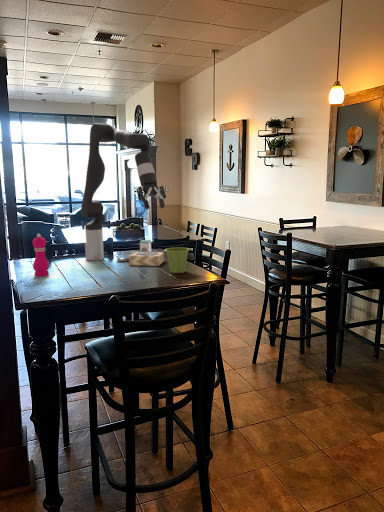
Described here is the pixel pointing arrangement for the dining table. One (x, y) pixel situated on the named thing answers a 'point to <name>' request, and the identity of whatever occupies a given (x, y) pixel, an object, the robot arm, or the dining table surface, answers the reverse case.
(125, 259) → the bolt
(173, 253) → the plant pot
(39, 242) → the pepper mill
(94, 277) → the dining table surface
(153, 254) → the beige chevron box
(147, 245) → the housing
